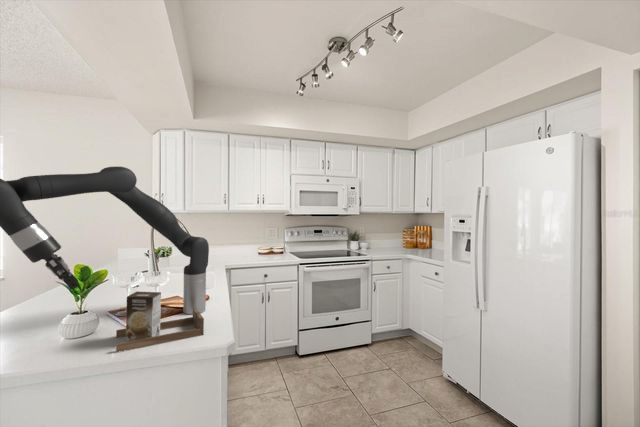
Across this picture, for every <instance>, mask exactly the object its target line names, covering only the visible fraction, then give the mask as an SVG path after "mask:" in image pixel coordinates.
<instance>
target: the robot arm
mask: <svg viewBox="0 0 640 427" xmlns="http://www.w3.org/2000/svg"><path fill="white" fill-rule="evenodd" d="M137 181H138V179H137V175H136V173H134V171H133V170H131V169H130V168H128V167H124V166H108V167H104V168H102V169H101V170H100V171H97V172H91V173H89V172H88V173H65V174H64V173H62V174H61V173H59V174H57V173H56V174H42V175H41V174H40V175H29V176H24V177H20V178H17V179H13V180H4V179H2V178H0V228H1V230H2V231H4V233H6V235H7V236H9V238H10V240H11V241H12V242H13V244H14V245H15V246H16V247H17V248H18V249H19V250H20V251H21V252H22V253H23V255H25V257H26V258H27V259H28V260H29V261H30V262H31V263H32V264H33V263H34V264H35V263H37V262H40V261H41V260H44V261H45V265H44V266H45V267H46V268H47V269H48V270H49V271H51V273H52V274H53V275H55V277H57V279H58V280H60V281H63V282H64V283H65V285H66V286H67V287H68V288H69V289H70V290H75V289H77V288H78V287H80V283H79V281H78V279H77V278H76V276H74V274H73V273H72V272H71V270H70V268H69V265H68V264H67V263H66V262H65V260H64V259H63V257H62V256H58V254H56V252H58V251H60V249H61V248H62V245H61V244H60V243H59V242H58V240H56V239H55V238H54V237H53V235H52V233H50V231H48V230H47V228H46V227H45V226H43V224H41V223H40V222H39V221H38V220H37V219H36V218H35V216H34V215H33V214H32V213H31V211H29V210H28V209H27V208H26V206H25V204H24V203H23V202H29V201H39V200H40V201H42V200H48V199H49V200H50V199H56V198H62V197H63V198H64V197H68V196H69V197H71V196H76V195H82V194H90V193H91V194H92V193H109V194H110V195H111V196H113V197H115V198H116V199H118V200H119V201H120V202H123V203H124V204H125V205H126V206H128V207H129V208H130V209H131V210H132V211H133V212H134V213H135V214H136V215H137V216H138V217H140V218H141V219H142V220H143V221H144V222H145V223H146V224H148V225H149V226H150V227H152V229H154V230H155V231H156V232H158V233H159V234H161V235H162V237H164V238H166V239H167V240H168V241H169V242H171V243H172V244H173V245H174V247H175V248H176V249H177V250H178V251H179V252H180V253H181V254H182V255H183V256H186V257H189V258H190V259H189V264H188V265H186V266H184V267H183V295H182V296H183V297H182V298H183V300H182V301H183V304H182V306H183V308H182V309H183V310H182V312H183V313H184V314H186V315H193V308H196V309H197V310H198V311H199V313H200V314H201V313H203V312H205V311H206V306H207V305H206V302H207V301H206V300H207V296H206V294H207V291H206V290H207V268H208V265H209V252H210V247H209V246H210V245H209V242H208V240H207V239H206V238H205V237H202V236H194V235H192V234H189V233H188V232H187V231H185V230H184V229H183V228H182V227H181V226H180V223H179V221H178V218H177V217H176V215H175V214H174V213H173V212H172V211H171V210H170V209H169V208H168V207H167V206H165V205H164V204H163V203H162V202H161V201H159V200H157V199H155V198H154V197H152V196H150V195H148V194H147V193H145V192H143V191H142V190H141V189H139V188H138V187H137V186H136V185H137ZM54 253H55V254H54Z"/></svg>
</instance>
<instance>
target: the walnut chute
mask: <svg viewBox="0 0 640 427" xmlns="http://www.w3.org/2000/svg"><path fill="white" fill-rule="evenodd" d="M204 322H205V318H204V317H203V315H202V314H201V313H199V311H198V310H197V309H196V308H193V314H192V316H190V317H185V318H179V319H173V320H168V321H162V322H161V321H160V331H162V330H163V331H164V330H166V329H175V328H178V327H179V328H180V327H186V326H190V325H193V326H194V328H192V329H185V330H181V331H177V332H171V333H166V334H165V333H164V334H160V335H159V336H154V337H149V338H144V339H138V340H133V341H128V342H126V341H124V342H118V343H116V344H115V352H117V353H120V352H119V351H122V352H125V351H124V350H127V351H131V349H132V350H135V348H137V349H141V348H145V347H151V346H155V345H161V344H165V343H166V344H167V343H170V342H174V341H180V340H184V339H189V338H195V337H200V336H203V335H205V334H204V333H205V332H204V331H205V330H204V329H205V328H204V326H205V323H204ZM115 331H116V337H115V338H116V339H119V338H124V337H125V338H126V328H121V329H116V330H115Z"/></svg>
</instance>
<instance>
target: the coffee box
mask: <svg viewBox="0 0 640 427" xmlns="http://www.w3.org/2000/svg"><path fill="white" fill-rule="evenodd" d="M161 302H162V292H159V291H158V292H157V291H135V292H133V293H131V294H129V295H128V296H126V321H125V322H126V326H125V327H126V328H125V329H126V336H125V342H128V341H133V340H138V339H144V338H149V337H154V336H159V335H161V330H160V323H161V310H162V309H161V307H162V304H161Z"/></svg>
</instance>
